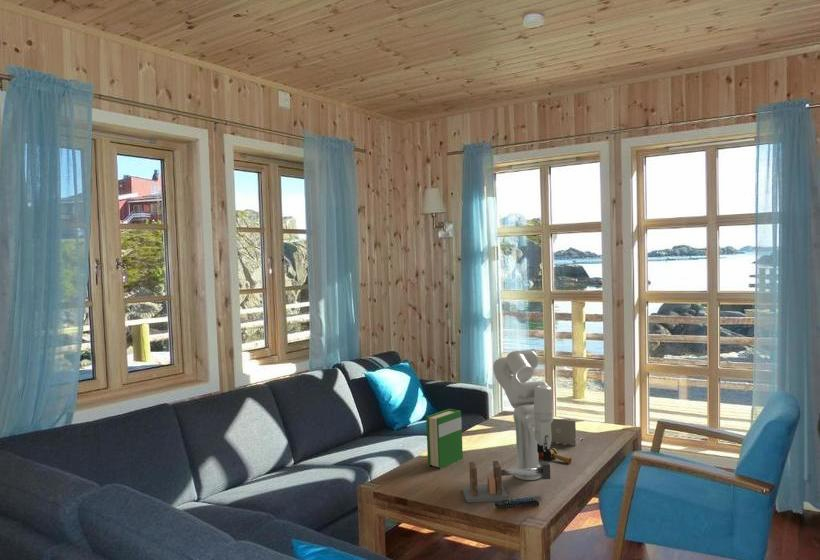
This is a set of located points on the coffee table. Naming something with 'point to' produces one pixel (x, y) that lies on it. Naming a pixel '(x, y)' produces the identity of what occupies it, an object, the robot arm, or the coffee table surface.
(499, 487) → the stand
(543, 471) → the shaft
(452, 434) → the hardback book
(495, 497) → the base board
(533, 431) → the robot arm
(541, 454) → the kendama
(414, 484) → the coffee table surface
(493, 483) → the collar
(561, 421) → the laptop
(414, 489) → the coffee table surface
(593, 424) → the coffee table surface
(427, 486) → the coffee table surface
